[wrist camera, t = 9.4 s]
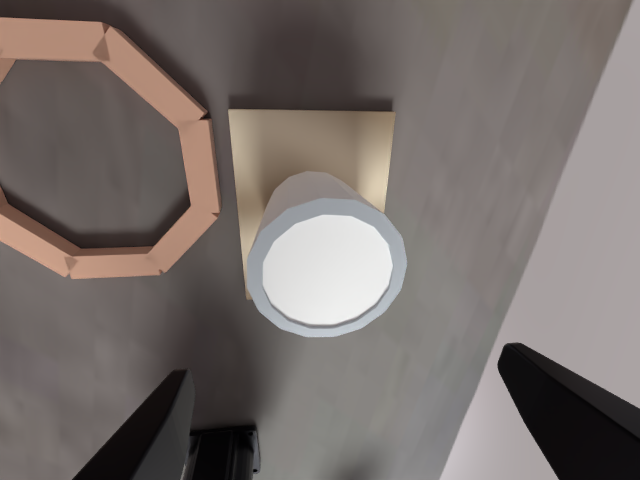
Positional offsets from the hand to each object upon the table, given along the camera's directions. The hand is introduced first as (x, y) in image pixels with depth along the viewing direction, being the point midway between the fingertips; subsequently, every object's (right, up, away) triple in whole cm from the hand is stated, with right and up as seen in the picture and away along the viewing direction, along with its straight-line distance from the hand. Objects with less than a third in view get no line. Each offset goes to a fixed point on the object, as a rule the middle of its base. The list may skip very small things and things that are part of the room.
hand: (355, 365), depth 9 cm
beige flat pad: (-1, +5, +11) cm, 12 cm away
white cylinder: (-2, +5, +11) cm, 12 cm away
